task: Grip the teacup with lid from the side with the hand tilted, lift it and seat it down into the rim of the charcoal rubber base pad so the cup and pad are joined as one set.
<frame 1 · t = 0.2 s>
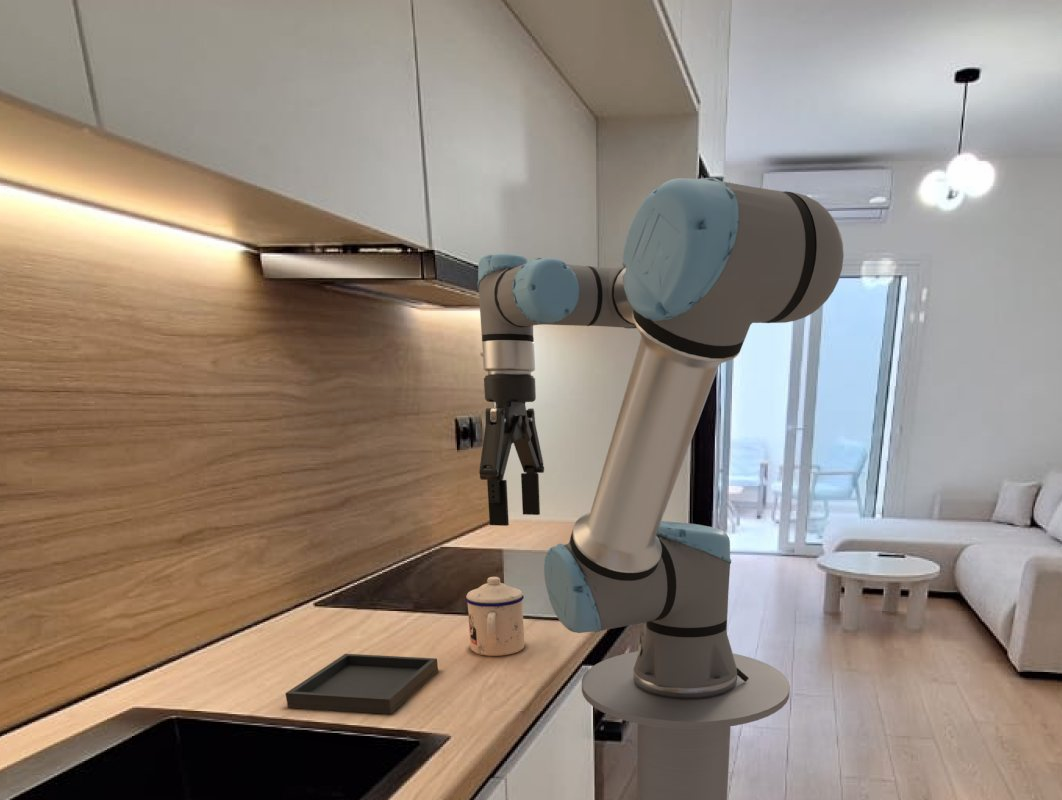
hand: (516, 519, 126), 20 cm above the worktop, tool pointing down, fingers open, 13 cm apart
teacup with lid: (497, 652, 130), on the worktop
base pad: (367, 688, 114), on the worktop
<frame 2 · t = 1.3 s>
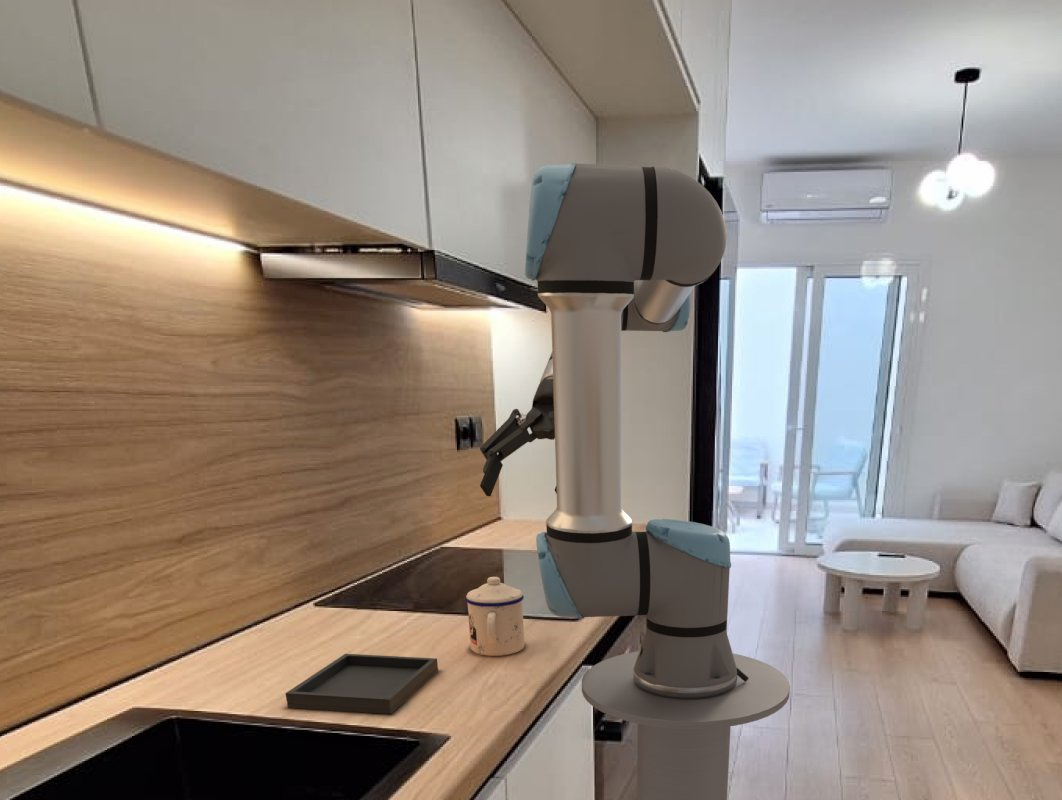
hand: (521, 493, 131), 24 cm above the worktop, tool tilted 45°, fingers open, 13 cm apart
nothing on the worktop moved.
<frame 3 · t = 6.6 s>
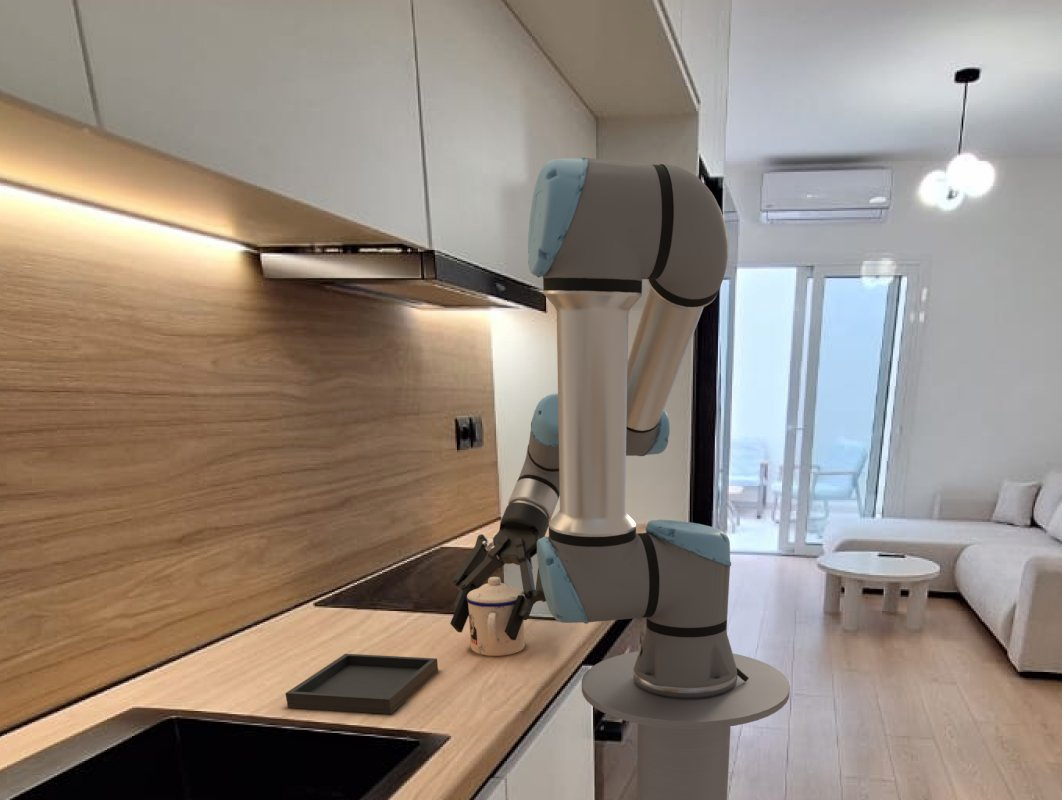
hand: (482, 632, 126), 4 cm above the worktop, tool tilted 45°, fingers closed on teacup with lid, 9 cm apart
teacup with lid: (497, 652, 130), on the worktop, touching gripper
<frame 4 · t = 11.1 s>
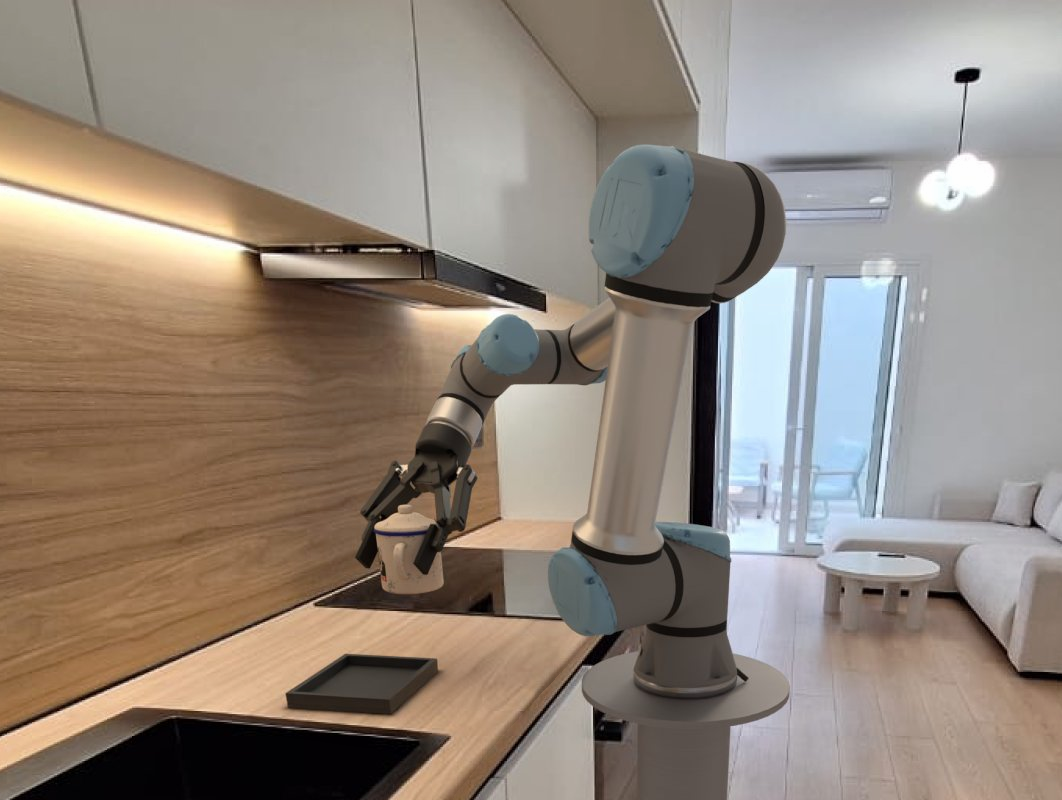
hand: (391, 566, 111), 17 cm above the worktop, tool tilted 45°, fingers closed on teacup with lid, 9 cm apart
teacup with lid: (411, 591, 115), point 13 cm above the worktop, touching gripper
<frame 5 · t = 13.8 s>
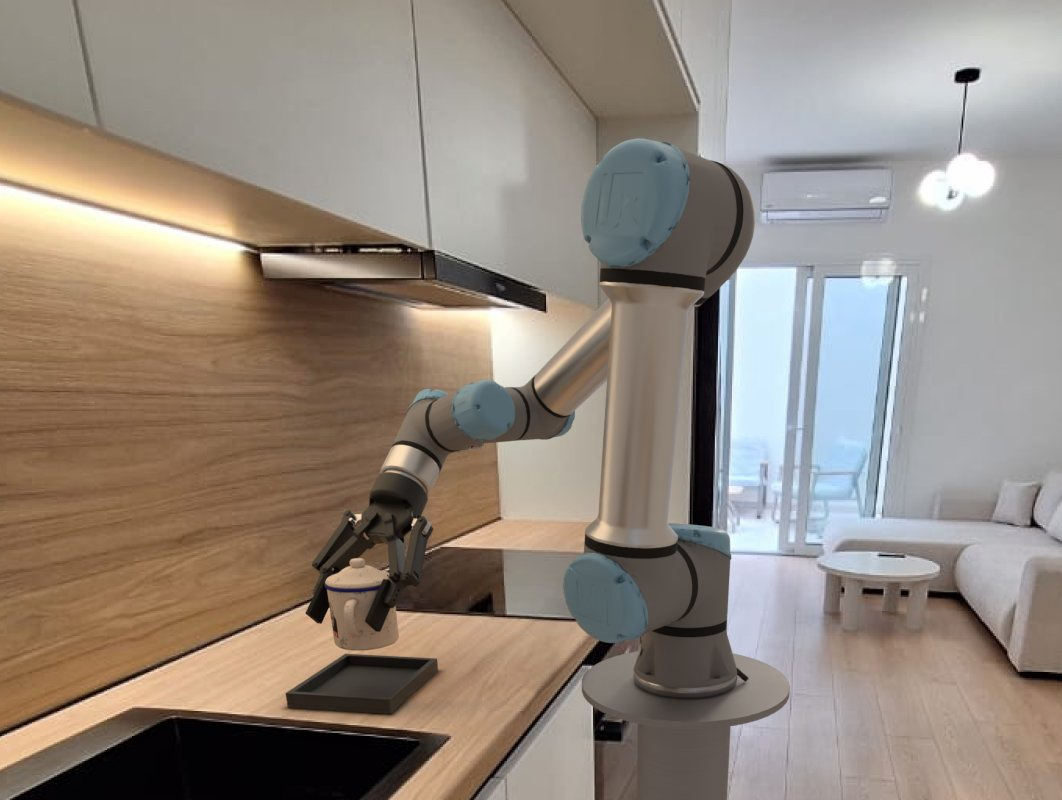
hand: (342, 622, 108), 11 cm above the worktop, tool tilted 45°, fingers closed on teacup with lid, 9 cm apart
teacup with lid: (364, 646, 112), point 6 cm above the worktop, touching gripper
when the fingers open (5 cm above the worktop, at t = 16.0 s): teacup with lid stays where it is, resting on base pad.
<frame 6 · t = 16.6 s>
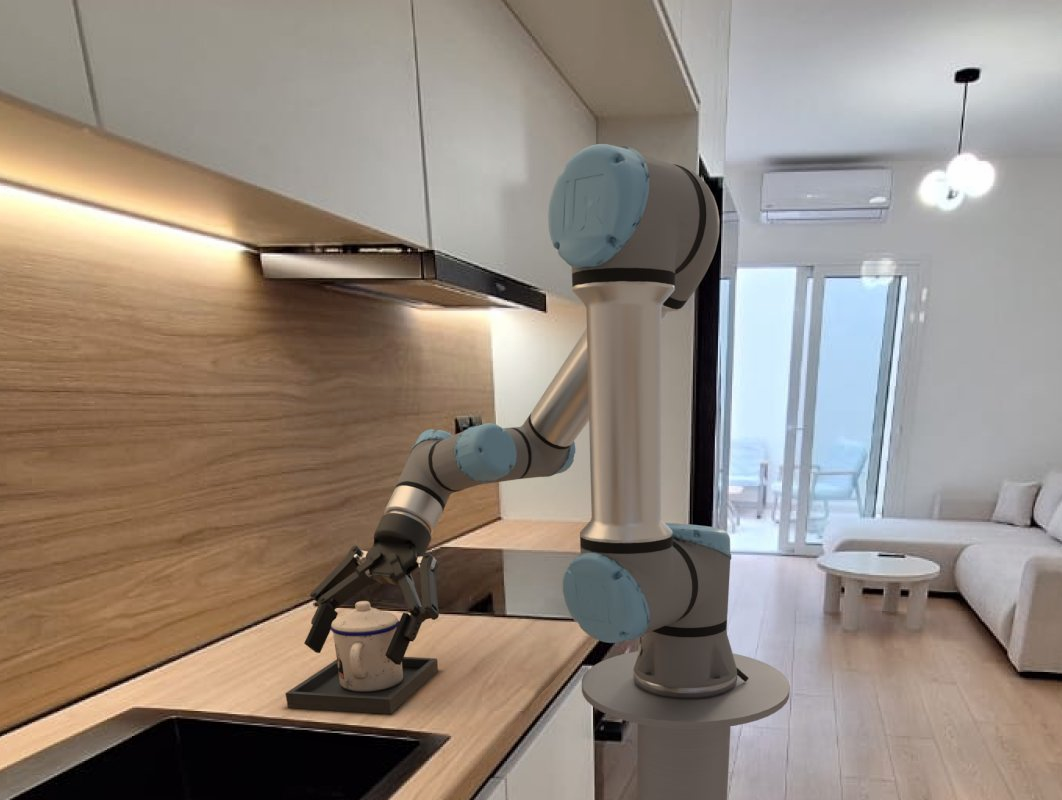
hand: (351, 654, 110), 6 cm above the worktop, tool tilted 45°, fingers open, 13 cm apart
teacup with lid: (369, 686, 114), resting on base pad
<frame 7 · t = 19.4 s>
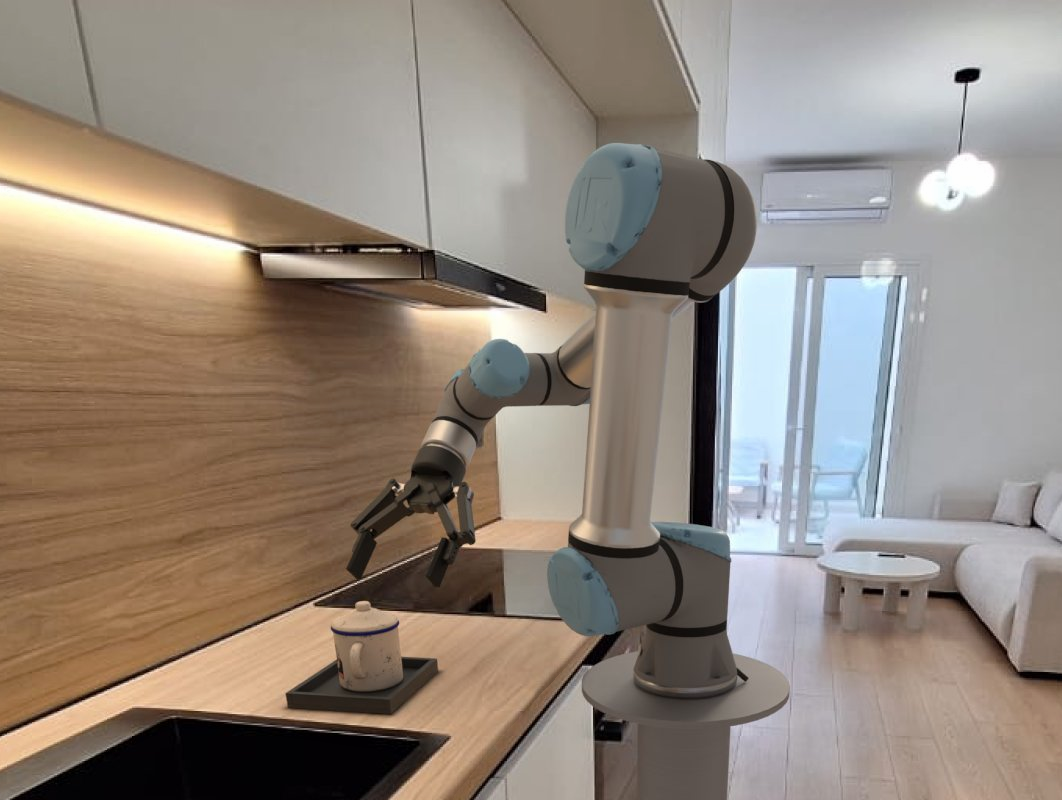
hand: (392, 578, 115), 14 cm above the worktop, tool tilted 45°, fingers open, 13 cm apart
nothing on the worktop moved.
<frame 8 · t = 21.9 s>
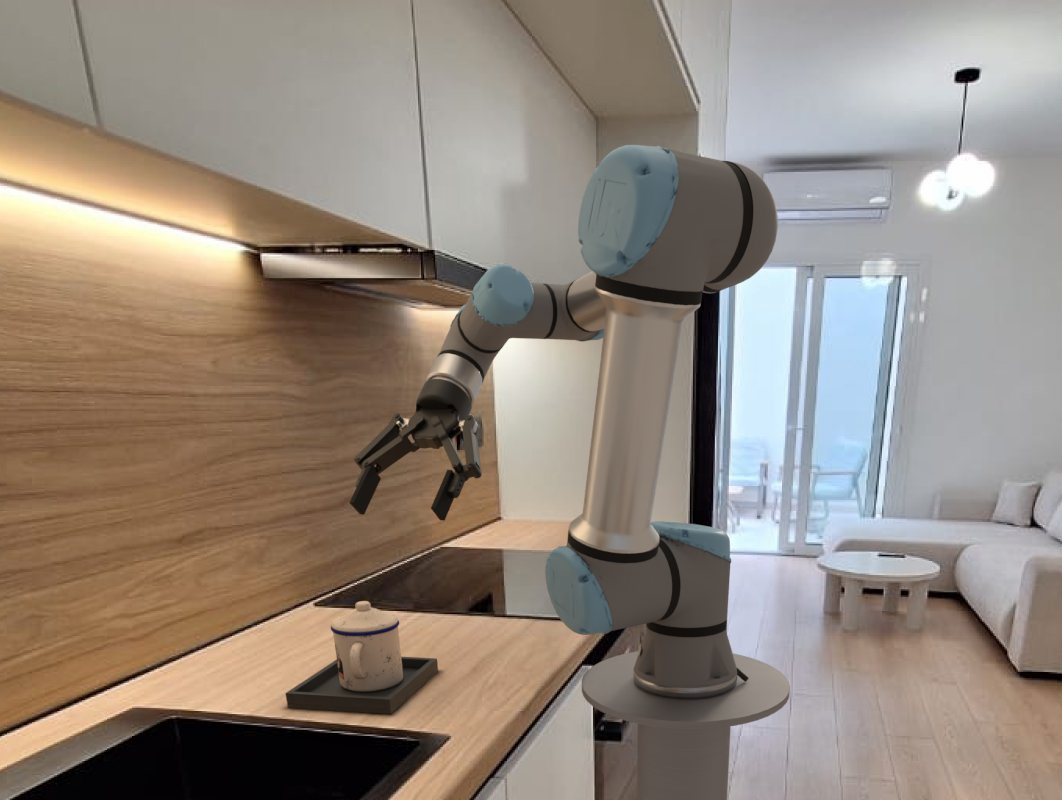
hand: (396, 511, 113), 24 cm above the worktop, tool tilted 45°, fingers open, 13 cm apart
nothing on the worktop moved.
at the end: teacup with lid 0.7 cm off-centre in the base pad, point 0.4 cm above the base pad's base; teacup with lid tilted 0°; the gripper is holding nothing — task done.
